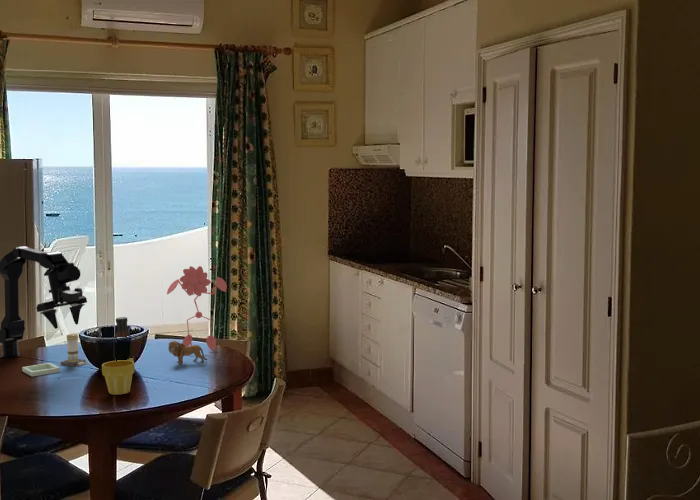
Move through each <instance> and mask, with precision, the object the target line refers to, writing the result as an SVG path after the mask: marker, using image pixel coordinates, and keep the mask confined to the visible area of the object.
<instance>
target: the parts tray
mask: <svg viewBox="0 0 700 500" xmlns="http://www.w3.org/2000/svg"><path fill="white" fill-rule="evenodd" d="M60 368H61V367H59V366H58V365H55V364H53V363H51V362H46V363H40V364H33V365H28V366H22V367H21V369H22V372H23V373H24V374H26V375H28V376H29V377H37V376H43V375H49V374H57V373H60V372H61V369H60Z"/></svg>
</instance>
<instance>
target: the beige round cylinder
mask: <svg viewBox="0 0 700 500" xmlns="http://www.w3.org/2000/svg"><path fill="white" fill-rule="evenodd" d="M78 340H79V334H77V333H70V334H67V335H66V343H67V344H66V345H67V346H66V347H67V360H68V362H72V363H74V362H77V361H79V359H80V357H79V341H78Z"/></svg>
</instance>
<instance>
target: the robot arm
mask: <svg viewBox="0 0 700 500" xmlns="http://www.w3.org/2000/svg"><path fill="white" fill-rule="evenodd" d="M28 261H32V262H35V263H38V264H39V266H41V267H42V268H44V269H46V271H45V272H44V274H43V276H44V277H47V278H48V282H49V283H48V284H49V288H50V289H48V293H49V294H50V293H51V297H52V300H51V301H45V302H42V303H38V304H36V313H39V312H40V314H41V315H43V316H44V317H45V319H47V320H48V322H49V323H50V324H51V326H53V328H54V329H55V330H56V329H57V330H58V321H57V316H56V315H57V308H59V307H64V306H65V307H66V306H70V307H69V310H70V315H71V317H72V319H73V322H74V324H75V325H79V320H80V314H81V311H82V308H83V307H84V306H85V304H86V303H88V299H87V297H86V296H85V295H84V294H83V293H84V292H83V290H82V289H83V288H81V287H77V288H74V289H73V290H71V287H70V286H69V285H67V284H68V283H71V282H75V281H78V280H79V279H80V278H81V269H79V267H78V266H77V265H75V264H74V262H69V261H68V260H67V259H66V257H64V255H63V253H62V252H60V251H42V250H39V249H35V248H31V247H28V246H26V245H25V246H24V245H23V246H22V245H21V246H16V247H14V248H13V249H12V250H11V251H10V252H8V253H7V254H6V255H4V256H3V257H2V258H1V259H0V275H1V277H2V279H4V280H3V281H4V314H5V315H4V317H3V319H2V321H1V322H0V344H1V346H2V347H1V348H2V353H1V356H0V358H1V359H9V358H19V356H20V352H19V343H18V342H19V341H22V340H23V339H24V335H25V331H26V329H25V325H26V324H25V323H26V321H25V320H24V319H22V318H21V316H20V310H19V308H20V306H19V305H20V304H19V302H20V301H19V299H20V298H19V296H20V295H19V279H20V277H21V276H22V274H23V269H24V266H25V264H26V263H27V262H28Z"/></svg>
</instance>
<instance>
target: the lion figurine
mask: <svg viewBox="0 0 700 500" xmlns="http://www.w3.org/2000/svg"><path fill="white" fill-rule="evenodd" d="M168 352H169V354H171V355H172V356H174V357H177V359H178V361H176V363H177V364H178V365H183V363H184V361H183V358H184V357H190V356H193V354H194V358H195V359H193V360H192V362H193V363H194V362H197V361H198V359H201V360H200V361H199V362H200V363H201V364H203V363H204V362H205V361H208V359H207V358H206V356H204V355H205V354H204V350H203V348H202V347H201V346H200V345H199V344H198V345H196V344H194V345H193V344H192V346H191V345H189V346H184V345H183V344H182V343H180V342H179V341H176V340H172V341H170V342H169V343H168Z"/></svg>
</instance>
